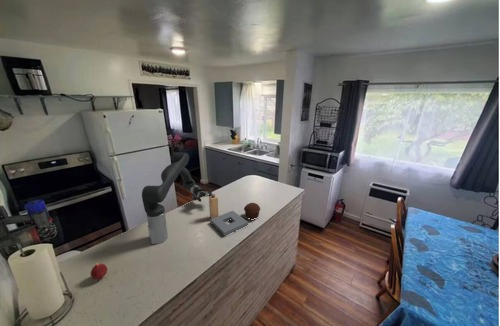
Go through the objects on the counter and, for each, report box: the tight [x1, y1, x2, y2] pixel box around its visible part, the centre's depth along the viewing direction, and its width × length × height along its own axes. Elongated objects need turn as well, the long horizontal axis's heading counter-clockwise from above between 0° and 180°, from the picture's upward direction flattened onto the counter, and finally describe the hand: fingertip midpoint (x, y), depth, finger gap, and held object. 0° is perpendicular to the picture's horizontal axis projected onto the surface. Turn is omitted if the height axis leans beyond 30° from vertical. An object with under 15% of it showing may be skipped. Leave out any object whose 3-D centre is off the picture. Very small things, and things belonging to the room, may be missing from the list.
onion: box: [90, 262, 108, 280], centre depth 85 cm, size 6×6×8 cm
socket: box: [209, 210, 249, 237], centre depth 126 cm, size 18×18×3 cm
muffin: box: [243, 202, 261, 219], centre depth 135 cm, size 12×11×10 cm
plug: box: [208, 193, 219, 219], centre depth 131 cm, size 4×4×18 cm
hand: (206, 198), depth 139 cm, fingers open, 8 cm apart
